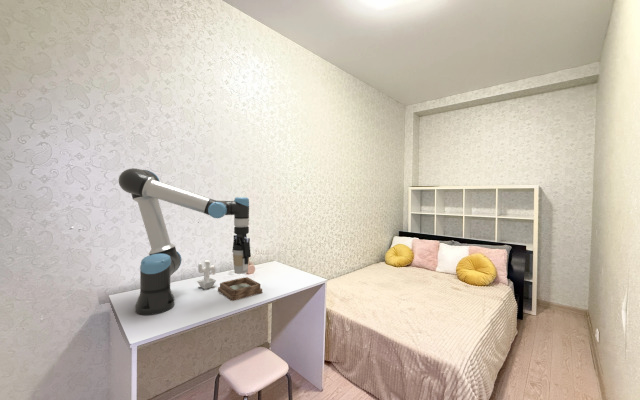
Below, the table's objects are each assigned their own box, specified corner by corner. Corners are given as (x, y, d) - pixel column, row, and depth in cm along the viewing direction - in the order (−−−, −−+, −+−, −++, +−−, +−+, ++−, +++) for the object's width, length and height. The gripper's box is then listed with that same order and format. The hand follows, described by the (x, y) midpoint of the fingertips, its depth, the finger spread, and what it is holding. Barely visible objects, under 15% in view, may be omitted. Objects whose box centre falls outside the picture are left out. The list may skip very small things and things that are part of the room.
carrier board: (232, 301, 129) (232, 292, 129) (218, 291, 141) (218, 282, 141) (262, 292, 141) (262, 284, 141) (246, 284, 153) (246, 276, 153)
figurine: (217, 286, 148) (218, 260, 148) (202, 291, 141) (202, 263, 140) (210, 283, 152) (211, 257, 152) (194, 287, 145) (195, 261, 144)
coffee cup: (253, 271, 142) (253, 243, 142) (240, 275, 135) (240, 246, 134) (241, 268, 147) (242, 241, 147) (228, 272, 139) (228, 244, 139)
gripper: (258, 227, 135) (257, 271, 136) (238, 223, 150) (238, 262, 151) (244, 229, 130) (244, 274, 131) (226, 224, 145) (225, 265, 146)
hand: (241, 268), depth 141 cm, fingers closed on coffee cup, 9 cm apart
